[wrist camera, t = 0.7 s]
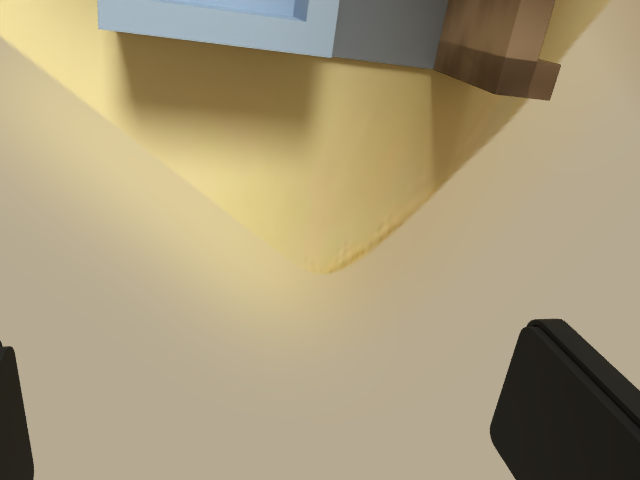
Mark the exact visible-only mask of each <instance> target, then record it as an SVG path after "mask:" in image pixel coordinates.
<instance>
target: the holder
mask: <svg viewBox="0 0 640 480" xmlns="http://www.w3.org/2000/svg"><path fill="white" fill-rule="evenodd" d="M339 1H340V0H98V29H102V30H110V31H118V32H126V33H134V34H142V35H150V36H158V37H166V38H174V39H182V40H190V41H198V42H206V43H214V44H222V45H230V46H239V47H247V48H255V49H263V50H271V51H279V52H287V53H295V54H303V55H311V56H319V57H327V58H331V57H332V50H333V43H334V36H335V29H336V22H337V15H338V8H339Z"/></svg>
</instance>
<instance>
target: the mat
mask: <svg viewBox="0 0 640 480" xmlns="http://www.w3.org/2000/svg"><path fill="white" fill-rule="evenodd" d="M447 5H448V0H340V1H339V8H338V15H337V22H336V29H335V36H334V43H333V50H332V57H338V58H346V59H354V60H362V61H370V62H378V63H386V64H394V65H402V66H410V67H418V68H426V69H433V68H434V64H435V59H436V55H437V50H438V46H439V41H440V37H441V32H442V28H443V23H444V18H445V14H446V9H447Z"/></svg>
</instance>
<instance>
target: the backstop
mask: <svg viewBox="0 0 640 480" xmlns="http://www.w3.org/2000/svg"><path fill="white" fill-rule="evenodd" d="M554 3H555V0H448V5H447V9H446V14H445V18H444V23H443V28H442V32H441V37H440V41H439V46H438V50H437V55H436V59H435V64H434V68H433V69H434V70H436V71H439V72H441V73H444V74H446V75H448V76H451V77H453V78H456V79H458V80H461V81H463V82H466V83H468V84H471V85H473V86H476V87H478V88H481V89H483V90H486V91H488V92H491V93H493V94H497V95H506V96H514V97H523V98H532V99H541V100H550V98H551V95H552V92H553V89H554V86H555V82H556V79H557V76H558V73H559V70H560V67H561V65H560V64H556V63H552V62H548V61H544V60H540V59H538V57H539V54H540V50H541V47H542V44H543V40H544V37H545V34H546V30H547V27H548V23H549V20H550V17H551V13H552V10H553V7H554Z"/></svg>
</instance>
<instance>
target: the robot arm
mask: <svg viewBox="0 0 640 480" xmlns="http://www.w3.org/2000/svg"><path fill="white" fill-rule="evenodd" d="M490 435H491V439H492V442H493V444H494V446H495V448H496V449H497V451H498V453H499V454H500V456H501V457H502V459H503V460H504V462H505V463H506V465H507V466H508V468H509V470H510V471H511V473H512V474H513V476H514V478H515V479H516V480H640V391H639V390H638V389H637V388H636V387H635V386H634V385H633V384H632V383H631V382H630V381H628V380H627V379H626V378H625V377H624V376H623V375H622V374H621V373H620V372H619V371H618V370H617V369H616V368H614V367H613V366H612V365H611V364H610V363H609V362H608V361H607V360H606V359H605V358H604V357H603V356H602V355H601V354H599V353H598V352H597V351H596V350H595V349H594V348H593V347H592V346H591V345H590V344H589V343H587V341H585V340H584V339H583V338H582V337H581V336H580V335H579V334H578V333H577V332H576V331H575V330H574V329H572V328H571V327H570V326H569V325H568V324H567V323H566V322H565V321H563V320H562V319H535V320H532V321H530V322H529V323H528V325H527V327H525V328H523V329H522V330H521V332H520V335H519V337H518V341H517V344H516V347H515V350H514V353H513V356H512V359H511V362H510V366H509V369H508V372H507V375H506V378H505V382H504V384H503V388H502V391H501V394H500V397H499V400H498V403H497V406H496V409H495V413H494V416H493V419H492V422H491V426H490ZM33 477H34V464H33V458H32V452H31V446H30V440H29V434H28V428H27V422H26V416H25V411H24V404H23V399H22V393H21V387H20V381H19V375H18V369H17V363H16V357H15V352H14V350H13V348H12V347H10V346H8V347H2V343H1V341H0V480H33Z"/></svg>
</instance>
